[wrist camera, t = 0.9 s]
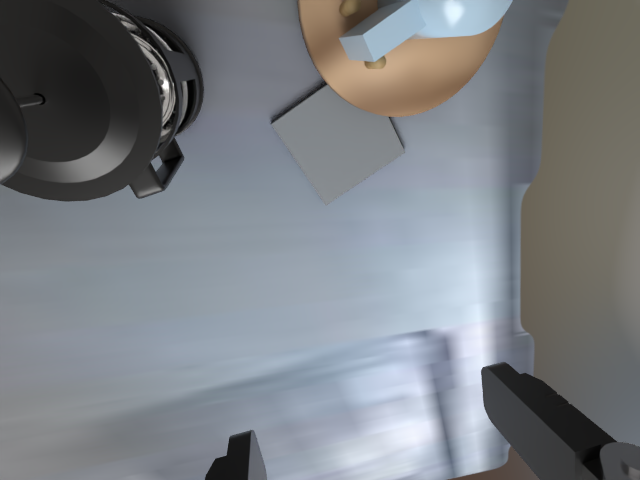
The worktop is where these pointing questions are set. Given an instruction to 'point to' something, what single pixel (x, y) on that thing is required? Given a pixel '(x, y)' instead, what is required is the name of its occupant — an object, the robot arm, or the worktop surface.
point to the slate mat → (337, 142)
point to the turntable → (389, 61)
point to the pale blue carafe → (419, 24)
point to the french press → (91, 99)
